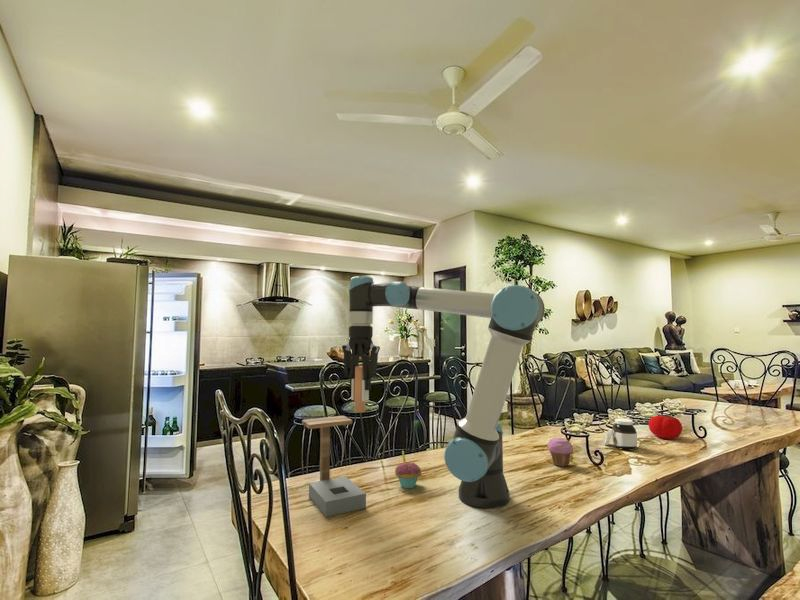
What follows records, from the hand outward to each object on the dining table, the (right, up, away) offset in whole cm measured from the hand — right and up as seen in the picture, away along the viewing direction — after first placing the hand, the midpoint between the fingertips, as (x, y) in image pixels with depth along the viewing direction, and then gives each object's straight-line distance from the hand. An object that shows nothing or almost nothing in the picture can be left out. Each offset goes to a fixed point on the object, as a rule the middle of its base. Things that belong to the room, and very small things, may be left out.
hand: (360, 399), depth 131 cm
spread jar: (+107, -32, +48) cm, 121 cm away
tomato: (+136, -33, +63) cm, 154 cm away
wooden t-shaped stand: (-11, -29, 0) cm, 31 cm away
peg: (0, -4, 0) cm, 4 cm away
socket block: (-6, -28, -8) cm, 30 cm away
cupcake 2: (+73, -31, +25) cm, 83 cm away
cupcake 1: (+15, -29, +5) cm, 34 cm away
